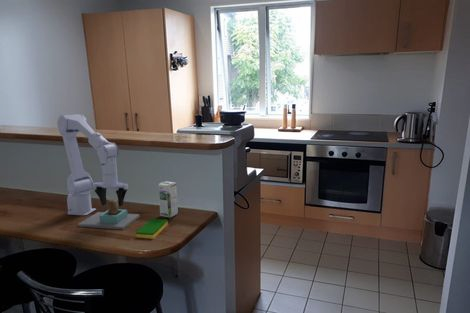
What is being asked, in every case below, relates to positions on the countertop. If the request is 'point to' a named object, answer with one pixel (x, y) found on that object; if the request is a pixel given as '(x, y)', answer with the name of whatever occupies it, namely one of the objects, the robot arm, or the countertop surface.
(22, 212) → the countertop surface
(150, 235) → the dish sponge
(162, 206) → the syrup box
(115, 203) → the walnut peg
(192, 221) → the countertop surface
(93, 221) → the socket stand
